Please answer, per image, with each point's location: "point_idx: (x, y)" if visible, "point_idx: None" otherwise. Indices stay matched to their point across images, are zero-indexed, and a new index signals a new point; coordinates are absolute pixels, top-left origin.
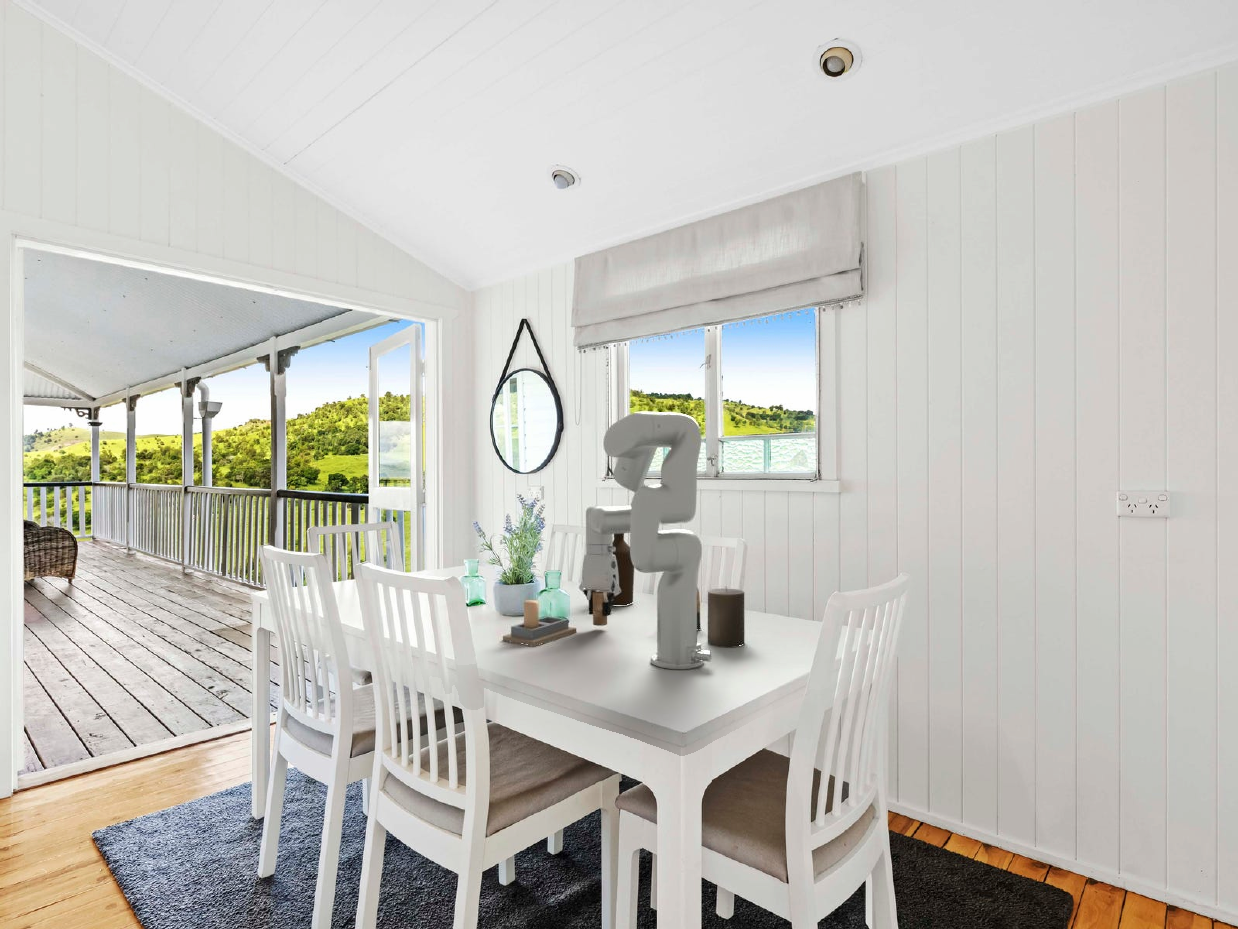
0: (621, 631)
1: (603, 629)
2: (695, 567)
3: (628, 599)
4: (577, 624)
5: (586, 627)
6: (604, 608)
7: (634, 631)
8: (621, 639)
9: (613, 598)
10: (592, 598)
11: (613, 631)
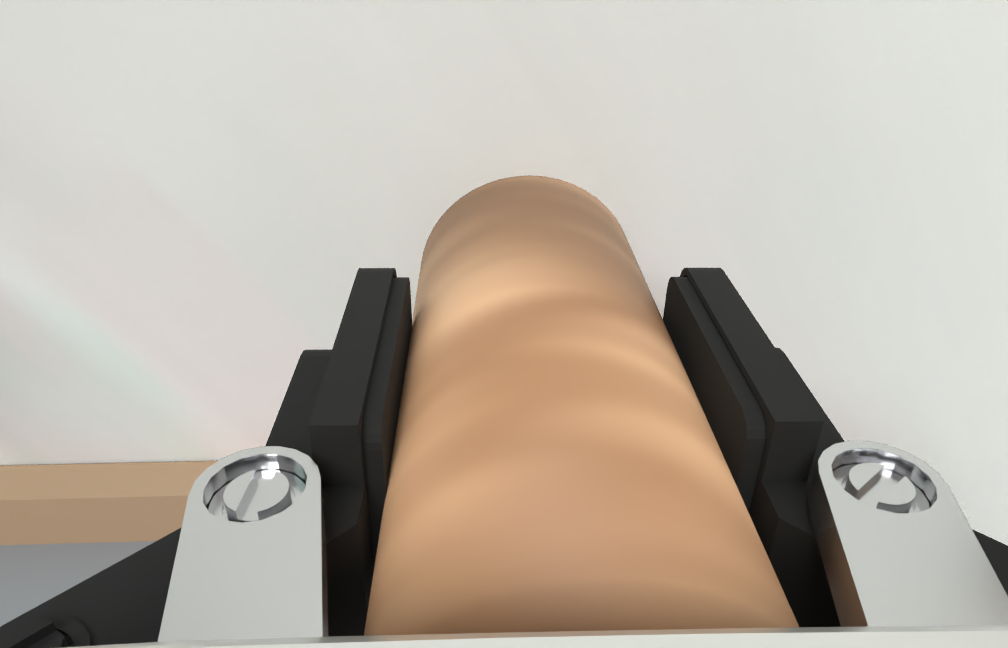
0: (809, 128)
1: (529, 172)
2: None
3: None
4: (12, 135)
5: (259, 209)
6: None
7: (992, 20)
8: (933, 420)
9: (991, 539)
10: (366, 616)
11: (706, 188)
